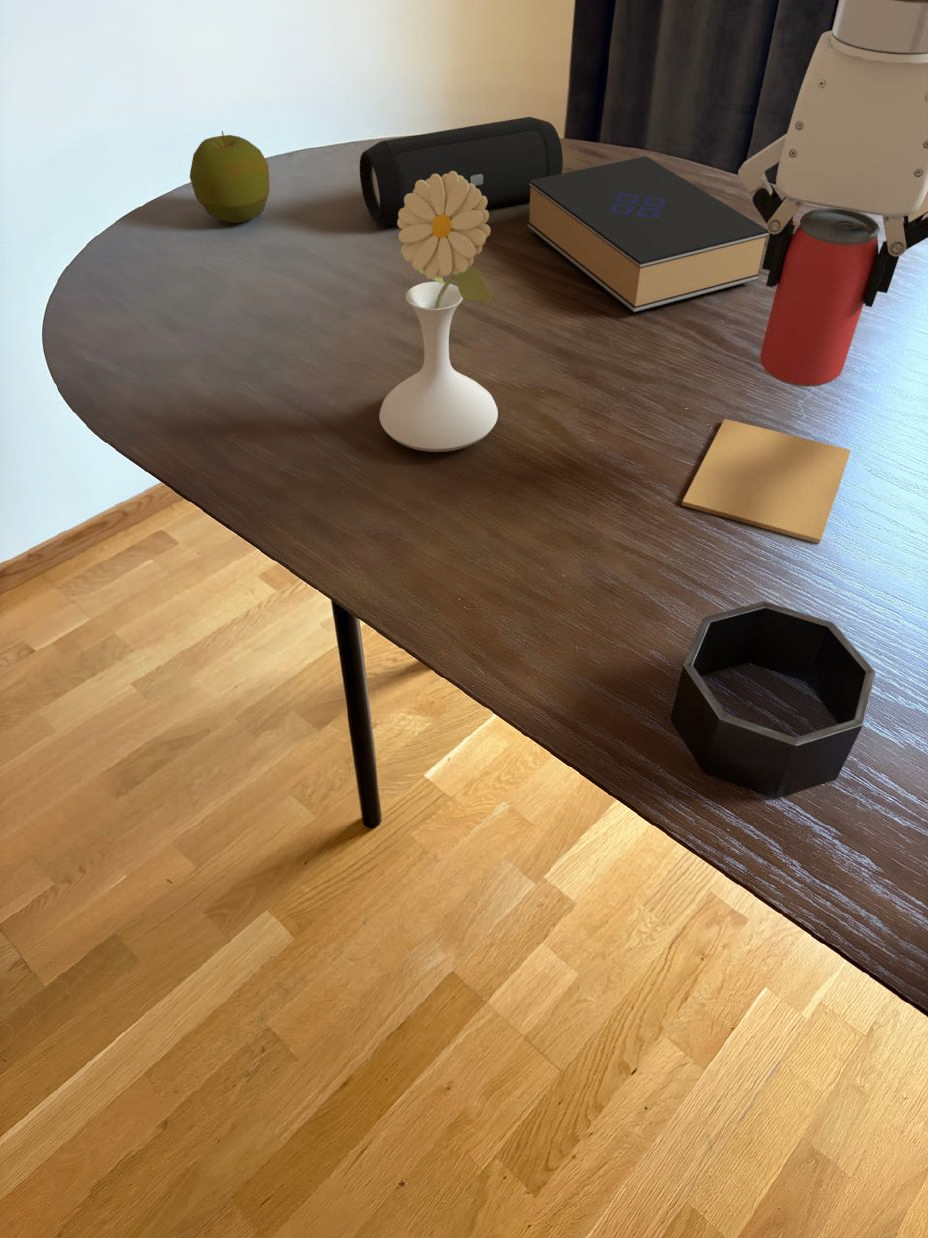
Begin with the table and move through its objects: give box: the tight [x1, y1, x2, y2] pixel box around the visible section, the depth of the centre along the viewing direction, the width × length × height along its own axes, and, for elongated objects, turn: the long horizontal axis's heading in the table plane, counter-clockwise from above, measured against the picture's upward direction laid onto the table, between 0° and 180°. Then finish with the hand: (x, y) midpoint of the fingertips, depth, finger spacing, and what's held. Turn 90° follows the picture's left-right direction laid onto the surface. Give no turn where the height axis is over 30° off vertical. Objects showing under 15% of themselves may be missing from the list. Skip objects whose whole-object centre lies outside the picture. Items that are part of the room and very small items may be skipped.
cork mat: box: [681, 418, 852, 545], centre depth 85 cm, size 12×14×1 cm
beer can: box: [759, 207, 881, 388], centre depth 73 cm, size 7×7×12 cm
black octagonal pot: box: [669, 600, 876, 800], centre depth 64 cm, size 12×12×6 cm
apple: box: [189, 130, 271, 224], centre depth 121 cm, size 10×10×11 cm
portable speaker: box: [359, 116, 564, 226], centre depth 123 cm, size 26×10×10 cm, turn 113°
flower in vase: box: [378, 171, 499, 453], centre depth 82 cm, size 13×11×25 cm
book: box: [526, 155, 770, 313], centre depth 113 cm, size 17×25×7 cm
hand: (822, 286), depth 72 cm, fingers closed on beer can, 6 cm apart
